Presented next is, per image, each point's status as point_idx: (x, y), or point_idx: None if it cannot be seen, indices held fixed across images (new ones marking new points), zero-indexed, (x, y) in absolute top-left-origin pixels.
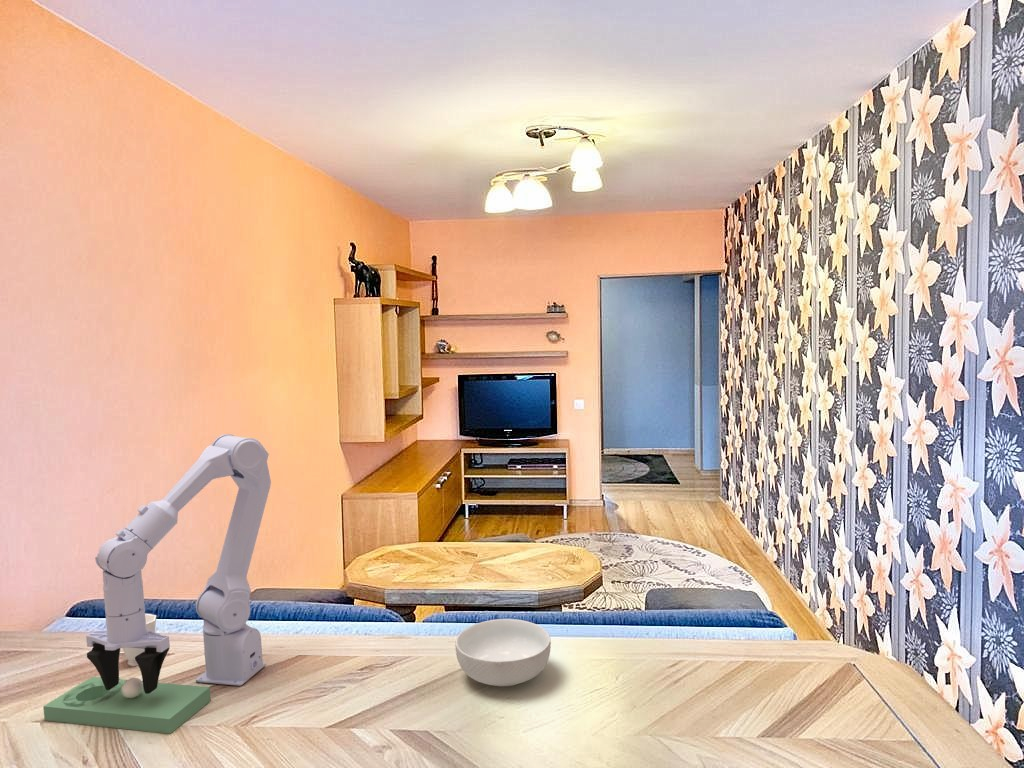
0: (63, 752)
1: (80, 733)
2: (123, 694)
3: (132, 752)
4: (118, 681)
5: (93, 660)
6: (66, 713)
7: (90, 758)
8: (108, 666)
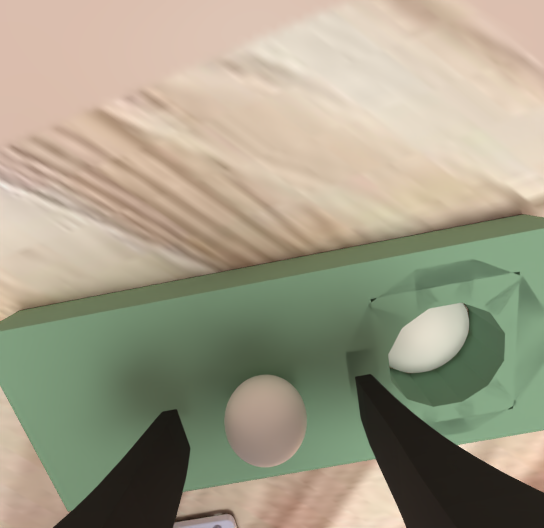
0: (258, 93)
1: (315, 204)
2: (271, 377)
3: (21, 189)
4: (364, 428)
5: (503, 498)
6: (444, 240)
7: (122, 104)
8: (407, 483)
